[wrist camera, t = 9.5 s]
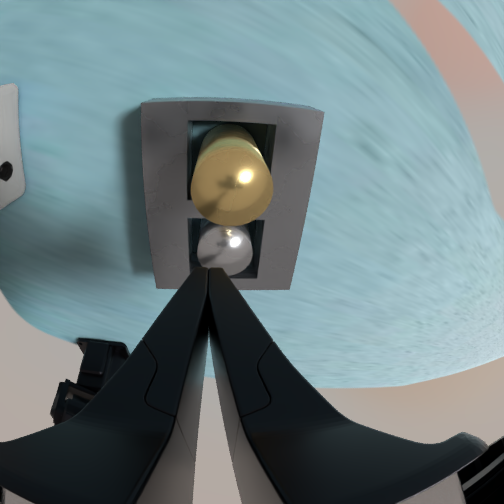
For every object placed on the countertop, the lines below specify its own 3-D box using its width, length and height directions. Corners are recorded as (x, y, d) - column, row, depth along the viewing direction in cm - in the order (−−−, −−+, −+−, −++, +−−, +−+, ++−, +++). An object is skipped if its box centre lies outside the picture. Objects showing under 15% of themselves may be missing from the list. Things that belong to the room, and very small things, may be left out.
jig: (282, 265, 24) (289, 289, 21) (162, 263, 22) (156, 288, 20) (309, 106, 16) (324, 112, 14) (153, 98, 15) (141, 103, 13)
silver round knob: (246, 247, 22) (250, 276, 20) (200, 246, 22) (197, 275, 19) (249, 206, 20) (255, 231, 18) (200, 205, 20) (196, 230, 17)
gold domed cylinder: (253, 176, 19) (268, 227, 13) (200, 174, 18) (191, 225, 13) (257, 125, 17) (278, 153, 11) (201, 123, 16) (190, 149, 11)
